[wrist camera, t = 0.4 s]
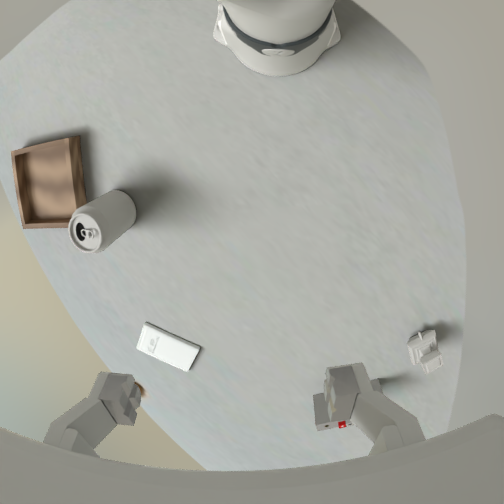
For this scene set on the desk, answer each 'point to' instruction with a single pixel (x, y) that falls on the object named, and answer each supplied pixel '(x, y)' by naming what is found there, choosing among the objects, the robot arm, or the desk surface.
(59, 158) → the tray
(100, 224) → the can
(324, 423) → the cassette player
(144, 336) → the external hard drive
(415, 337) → the stamp
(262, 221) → the desk surface
